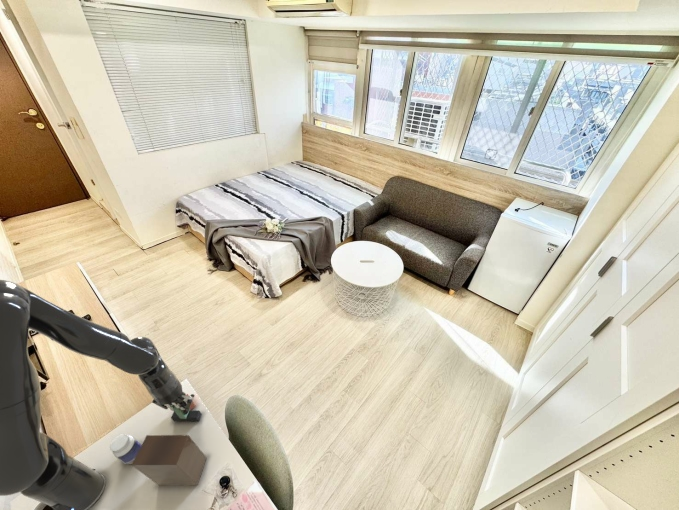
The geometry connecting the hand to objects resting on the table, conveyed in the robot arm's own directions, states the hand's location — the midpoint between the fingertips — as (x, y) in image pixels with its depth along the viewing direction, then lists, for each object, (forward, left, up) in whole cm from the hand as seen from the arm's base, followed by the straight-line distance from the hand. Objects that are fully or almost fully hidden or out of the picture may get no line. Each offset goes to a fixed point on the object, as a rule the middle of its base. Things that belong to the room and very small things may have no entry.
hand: (183, 411), depth 93 cm
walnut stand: (-13, -11, -5) cm, 17 cm away
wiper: (0, 0, -5) cm, 5 cm away
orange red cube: (+3, +3, -5) cm, 7 cm away
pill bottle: (-15, +8, -5) cm, 18 cm away
